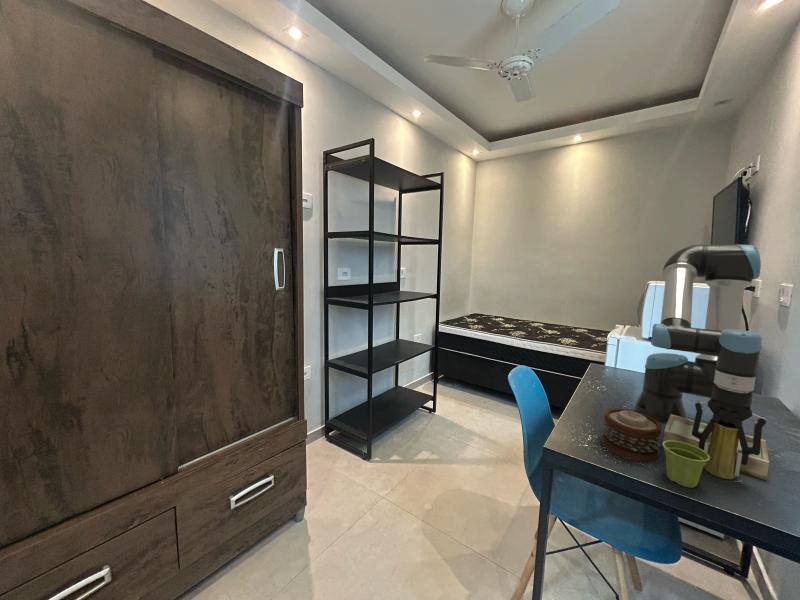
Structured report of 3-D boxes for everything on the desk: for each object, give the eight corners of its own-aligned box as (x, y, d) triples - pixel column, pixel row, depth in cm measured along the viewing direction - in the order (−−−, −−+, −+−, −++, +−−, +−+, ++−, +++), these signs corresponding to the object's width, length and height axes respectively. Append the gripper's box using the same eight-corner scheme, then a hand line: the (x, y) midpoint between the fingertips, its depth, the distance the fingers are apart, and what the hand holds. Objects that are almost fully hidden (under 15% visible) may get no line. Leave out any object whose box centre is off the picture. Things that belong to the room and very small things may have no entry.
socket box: (662, 445, 103) (664, 430, 102) (669, 427, 114) (670, 414, 113) (766, 480, 87) (769, 462, 87) (762, 455, 98) (765, 440, 98)
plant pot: (652, 466, 92) (656, 437, 91) (692, 472, 90) (696, 443, 89) (668, 488, 84) (673, 456, 82) (713, 496, 81) (719, 464, 80)
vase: (712, 463, 94) (719, 417, 92) (740, 477, 88) (748, 427, 86) (698, 467, 92) (705, 420, 90) (726, 481, 86) (734, 431, 84)
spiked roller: (664, 413, 101) (663, 433, 90) (660, 446, 102) (658, 469, 91) (608, 399, 110) (601, 415, 99) (605, 429, 112) (597, 448, 100)
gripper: (684, 381, 91) (674, 458, 94) (788, 403, 78) (772, 492, 81) (687, 375, 96) (677, 448, 99) (784, 394, 83) (769, 478, 86)
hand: (719, 467), depth 90 cm, fingers closed on vase, 6 cm apart
